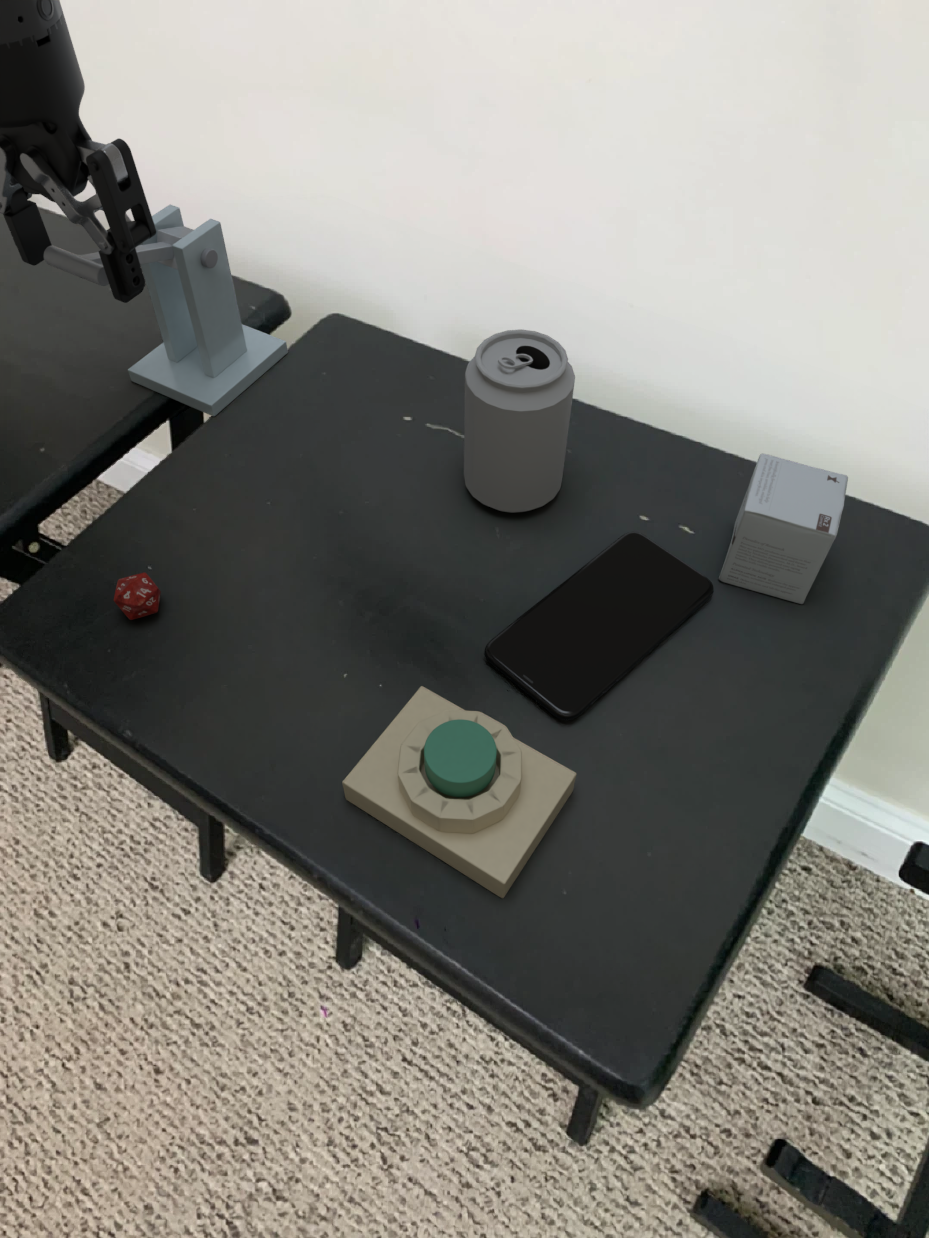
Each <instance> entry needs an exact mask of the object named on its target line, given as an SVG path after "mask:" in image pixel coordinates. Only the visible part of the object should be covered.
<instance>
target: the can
mask: <svg viewBox="0 0 929 1238" xmlns="http://www.w3.org/2000/svg"><path fill="white" fill-rule="evenodd" d="M575 382H576V375H575V372H574V368H573V365H571V364H570V362H569V357H568V354H567V351H566V349H565V347H564V346H562V344H561V343H560V342H559V341H557V340H556V339H554V338H552V337H551V336H549V335H548V334H545V333H541V332H539V331H536V330H530V329H529V330H528V329H507V330H504V331H500V332H497V333H494V334H492V335H490V336H488V337H486V338H485V339H483V340H482V342H481V343H480V344H479V345H478V346H477V348H476V351H475V354H474V356H473V357H472V358H471V360H469V362H468V363H467V366H466V368H465V373H464V421H463V423H464V424H463V425H464V427H463V428H464V429H463V432H464V433H463V434H464V435H463V440H464V441H463V479H464V485H465V487H466V489H467V490H468V492H469V493H470V495H471V496H472V497H473V498H474V499H476V501H478V502H480V504H482V505H483V506H486V507H490V508H491V509H494V510H497V511H500V512H505V513H512V514H513V513H525V512H530V511H532V510H535V509H539V508H541V507H543V506H546V504H548V503H549V502H551V501H552V500H554V499H555V497H556V496H557V495H558V493H559V491H560V490H561V487H562V481H563V475H564V469H565V468H564V467H565V460H566V451H567V444H568V438H569V437H568V435H569V429H570V420H571V413H572V407H573V405H572V404H573V399H574V390H575Z"/></svg>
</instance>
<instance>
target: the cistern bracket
mask: <svg viewBox="0 0 929 1238" xmlns="http://www.w3.org/2000/svg"><path fill="white" fill-rule="evenodd" d="M152 219H153V222H154V225H155V228H156V234H155V235H154V236H153V237H151V238H150V239H147V240H146V241H144V242H143V243H141V244H140V245H145V244H152V243H157V230H160V229H167V228H173V227H180V226H184V227H185V225H184V220H183V217H182V212H181V208H180V207H179V206H177V205H173V204H171V203H170V204H168V205H166V206H165V207H164V208H162V209H160V210H159V211H158V212H156V213H155V214H152ZM225 242H226V241H225V238H224V233H223V229H222V222H221V221H219V220H216V219H214V218H209V219H208V220H206V221H205V222H203V223H202V224H200V225H199V226H197V227H196V228H194V229H193V231H192V232H190V233H189V234H187V235H186V236H184V237H183V238H182V239H180V240H179V241H177V242H176V243H174V244H173V245H172V248H173V252H174V256H175V260H176V264H177V267H178V270H177V269H174V268H172V267H169V266H166V265H164V264H161V263H158V262H153V263H147V264H142V265H141V268H142V273H143V275H144V279H145V285H146V287H147V291H148V295H149V298H150V300H151V305H152V308H153V311H154V315H155V318H156V322H157V325H158V329H159V332H160V335H161V339H162V342H161V343H160V344H159V345H158V346H156V347H154V349H152V350H151V351H149V352H148V354H146V355H145V356H143V357H142V358H141V359H139V360H138V361H137V362H135V363H134V364H132V366H130V367H129V368H128V369H127V372H128V375H129V379H130V382H132V383H135V384H137V385H139V386H142V387H144V388H147V389H149V390H151V391H153V392H156V393H159V394H160V395H163V396H165V397H167V398H170V399H172V400H174V401H177V402H179V403H181V404H182V405H183V404H184V405H186V406H188V407H190V408H193V409H195V410H197V411H199V412H201V413H204V414H207V415H209V416H211V417H216V416H217V415H218V414H219V413H220V412H221V411H223V410H224V409H226V407H227V406H228V405H230V404H231V403H232V402H234V401H235V399H236V398H238V397H239V396H240V395H241V394H242V393H243V392H245V391H246V390H247V389H248V388H249V387H250V386H251V385H253V384H254V383H255V382H257V380H258V379H260V378H261V377H262V376H263V375H264V374H265V373H267V372H268V371H269V370H270V369H271V368H272V367H274V365H276V364H277V363H278V362H279V361H280V360H281V359H283V358H284V357H285V356H286V355H287V354H288V353H289V349H288V345H287V341H286V340H285V339H281V338H279V337H276V336H273V335H271V334H269V333H266V332H263V331H261V330H258V329H256V328H253V327H251V326H248V325H246V324H243V322H242V318H241V312H240V310H239V304H238V299H237V296H236V290H235V285H234V280H233V275H232V272H231V266H230V262H229V257H228V251H227V247H226V243H225Z"/></svg>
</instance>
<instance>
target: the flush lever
mask: <svg viewBox="0 0 929 1238" xmlns="http://www.w3.org/2000/svg"><path fill="white" fill-rule="evenodd" d="M193 230H194V229H193V228H190V227H187V226H185V225H184V226H180V227H173V228H167V229H160V230H157V243H152V244H145V245H139V246H137V247H136V252H137V255H138V258H139V262H140V265H142V264H147V263H153V262H158V263H161V264H164V265H166V266H169V267H172V268H174V269H177V270H178V267H177V264H176V260H175V256H174V252H173V248H172V245H173V244H174V243H176V242H177V241H179V240H180V239H182V238H183V237H184V236H186V235H187V234H189V233H190V232H192V231H193ZM43 261H44V262H45V263H46V264H47V265H48V266H50V267H54V268H56V269H59V270H61V271H64V272H66V273H68V274H71V275H74V276H76V277H78V278H80V279H83V280H86V281H89V282H91V283H93V284H96V285H98V286H101V287H106V286H108V285H109V282H108V279H107V276H106V273H105V270H104V267H103V264H102V261H101V258H100V255H99V251H96V252H90V253H83V254H76V253H73V252H70V251H69V250H65V249H62V248H60V247H58V246H56V245H52V246H48V247H47V248H46V249H45V251H44V260H43Z"/></svg>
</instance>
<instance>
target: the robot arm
mask: <svg viewBox="0 0 929 1238" xmlns="http://www.w3.org/2000/svg"><path fill="white" fill-rule="evenodd" d="M85 88H86V86H85V81H84V76H83V74H82V71H81V68H80V64H79V61H78V57H77V54H76V50H75V48H74V44H73V40H72V37H71V35H70V30H69V27H68V24H67V21H66V18H65V13H64V11H63V8H62V4H61V1H60V0H0V214H1V215H3V218H4V220H5V223H6V224H7V227H8V230H9V232H10V235H11V237H12V240H13V242H14V245H15V246H16V248H17V251H18V253H19V256H20V258H21V260H22V261H23V262H24V263H26V264H28V265H31V266H35V267H36V266H37V265H39V264H40V263H43V261H45V260H44V251H45V249H46V248H47V247H48V246H53V244H52V241H51V239H50V236H49V234H48V231H47V228H46V226H45V223H44V220H43V218H42V215H41V213H40V210H39V207H38V204H37V202H35V201H32V200H30V199H31V198H32V197H33V195H41V196H42V197H43V198H46V199H47V200H49V201H50V202H52V203H55V204H56V205H57V206H58V208H59V209H60V210H61V212H62V213H63V214H64V215H65V217H66V218H67V219H68V220H69V222H71V223H72V224H75V225H80V226H82V228H83V229H84V230H85V232H86V234H88V235H89V236H90V238H91V239H92V241H93V242H94V243H95V244H96V246H97V247H98V249H99V250H98V252H99V255H100V258H101V261H102V264H103V267H104V270H105V273H106V276H107V279H108V282H109V284H108V285H109V287H110V290H111V294H112V296H113V299H115V300H116V301H119V302H122V303H124V304H127V303H129V302H131V301H132V300H133V299H135V298H136V297H137V296H139V295H140V294H142V292H143V291H144V289H145V287H146V281H145V277H144V274H143V271H142V267H141V265H140V262H139V258H138V255H137V252H136V247H137V246H139V245H140V244H141V243H143V242H144V241H146V240H147V239H150V238H151V237H153V236H154V235H155V234H156V228H155V225H154V222H153V219H152V216H153V214H152V212H151V210H150V207H149V203H148V200H147V196H146V194H145V190H144V188H143V184H142V181H141V179H140V175H139V171H138V168H137V166H136V165H137V164H136V162H135V159H134V156H133V153H132V150H131V148H130V146H129V144H128V143H127V142H126V141H125V140H124V139H122V138H116V139H115V140H112V141H111V142H107V143H101V142H99V141H95V140H93V139H92V137H91V136H90V134H89V132H88V130H87V129H86V127H85V125H84V123H83V121H82V119H81V117H80V107H81V103H82V100H83V97H84V95H85V90H86V89H85ZM88 182H89V183H90V185H91V186H92V188H93V189H94V191H95V193H94V195H92V196H90V197H89V198H88V199H85V200H84V201H79V200H78V199H76V198H75V197H77V196H78V195H80V194H81V193H83V192H84V191H85V190H86V188H87V186H88ZM98 211H103V213H104V216H105V218H106V221H107V224H108V227H109V228H108V229H106V228H105V226H104V225H103V224H102V222H100V220H99V219H98V217H97V216H96V214H95V213H97V212H98ZM128 211H130V213H131V215H132V218H133V220H131V218H130V217H129V215H128V214H127V212H128Z"/></svg>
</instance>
